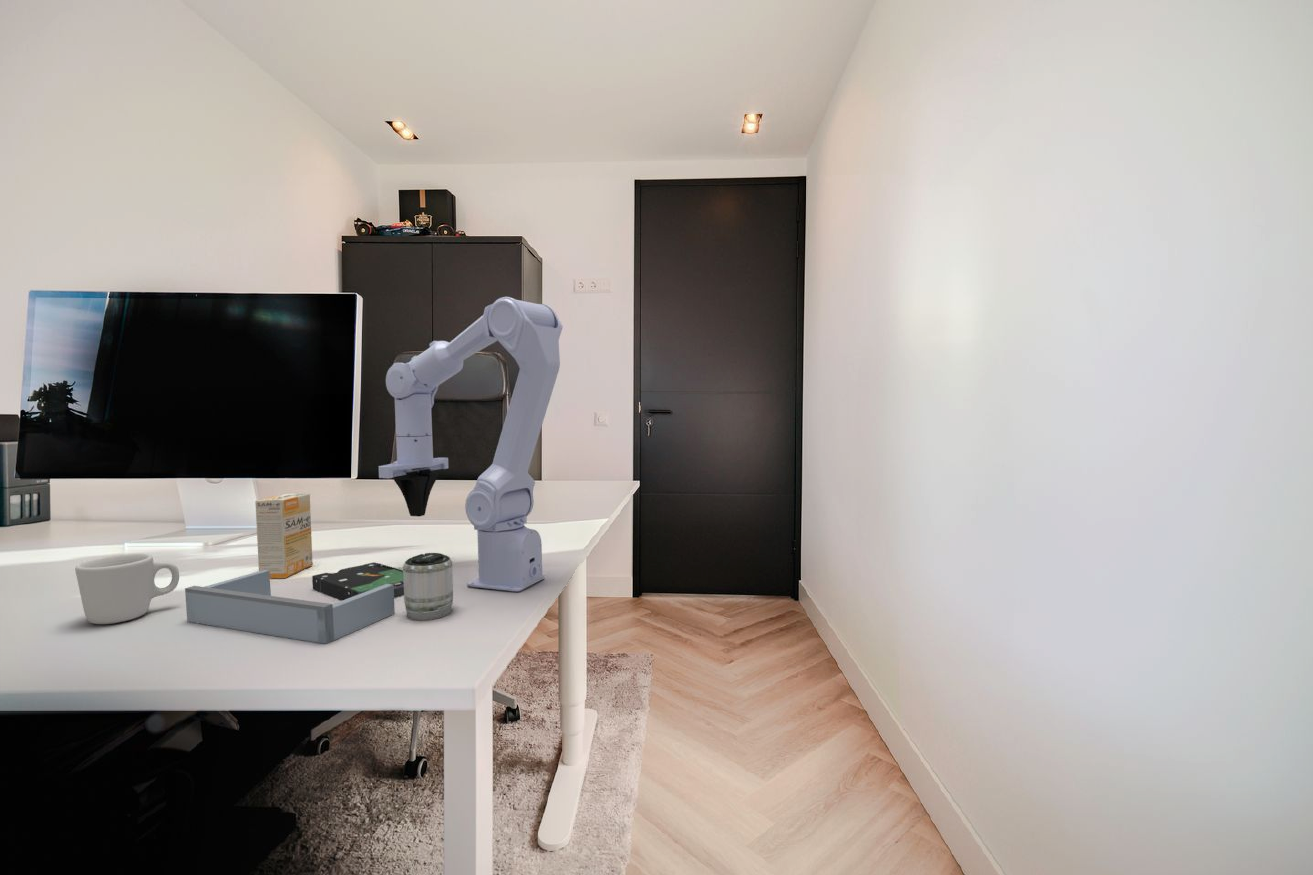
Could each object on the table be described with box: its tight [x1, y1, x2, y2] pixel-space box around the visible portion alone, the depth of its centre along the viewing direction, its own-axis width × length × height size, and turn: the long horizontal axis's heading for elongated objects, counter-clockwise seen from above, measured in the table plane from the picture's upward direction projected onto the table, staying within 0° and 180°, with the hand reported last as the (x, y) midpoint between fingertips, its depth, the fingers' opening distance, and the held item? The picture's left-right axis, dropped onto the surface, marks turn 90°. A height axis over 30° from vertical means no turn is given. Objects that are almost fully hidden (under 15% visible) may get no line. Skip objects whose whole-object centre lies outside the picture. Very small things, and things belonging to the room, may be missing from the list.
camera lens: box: [402, 552, 454, 621], centre depth 86 cm, size 6×6×8 cm
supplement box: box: [254, 492, 313, 579], centre depth 108 cm, size 8×5×13 cm, turn 179°
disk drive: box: [311, 562, 404, 601], centre depth 97 cm, size 10×3×15 cm
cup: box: [74, 553, 180, 625], centre depth 87 cm, size 11×8×8 cm
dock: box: [184, 570, 396, 645], centre depth 85 cm, size 24×11×4 cm, turn 70°
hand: (417, 515), depth 108 cm, fingers closed
